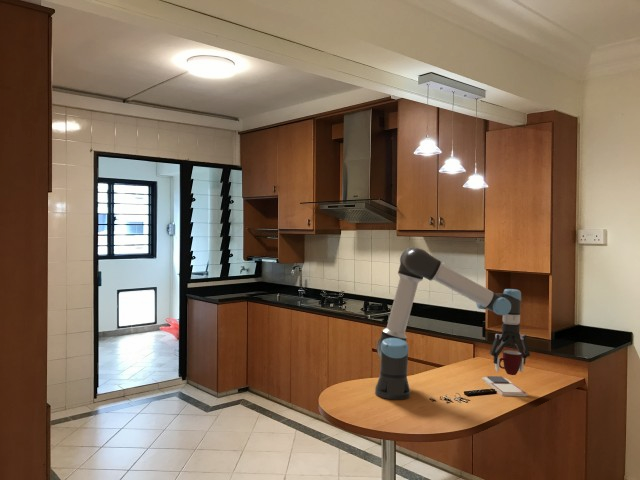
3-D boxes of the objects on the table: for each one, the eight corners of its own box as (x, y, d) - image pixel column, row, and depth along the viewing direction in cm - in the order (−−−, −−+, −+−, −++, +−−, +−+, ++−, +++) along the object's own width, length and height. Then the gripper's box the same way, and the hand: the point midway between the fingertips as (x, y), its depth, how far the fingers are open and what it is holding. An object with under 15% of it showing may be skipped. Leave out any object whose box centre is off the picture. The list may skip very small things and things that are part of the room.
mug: (504, 377, 230) (505, 354, 230) (493, 372, 238) (494, 350, 238) (524, 376, 233) (525, 354, 233) (513, 371, 241) (514, 350, 241)
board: (502, 395, 228) (502, 391, 228) (482, 379, 252) (482, 375, 252) (527, 396, 229) (527, 391, 229) (505, 380, 253) (505, 376, 252)
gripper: (489, 323, 231) (487, 372, 231) (539, 325, 232) (537, 373, 232) (483, 320, 238) (481, 368, 239) (531, 322, 239) (529, 369, 240)
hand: (508, 371), depth 236 cm, fingers closed on mug, 11 cm apart
